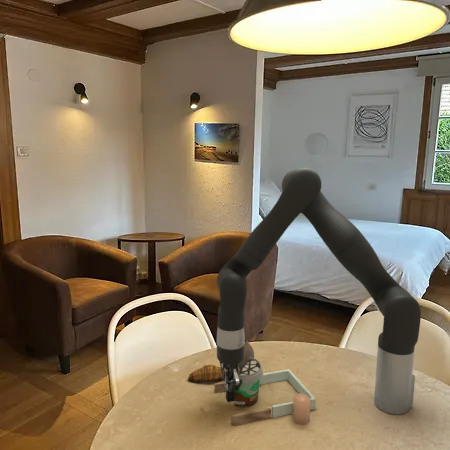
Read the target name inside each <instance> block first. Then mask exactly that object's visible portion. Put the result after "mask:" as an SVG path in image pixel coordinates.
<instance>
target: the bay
mask: <svg viewBox="0 0 450 450" xmlns="http://www.w3.org/2000/svg"><path fill="white" fill-rule="evenodd" d="M283 381H288V382H289V383H290V384H291V385H292V386H293V388H294V389H295V390H296V391H297V392H298V394H299V393H302V394H306V395H308V396H309V397H310V411H311V410H315V409H316V408H317V398H316V396H314V395H313V394H312V393H311V392H310V391H309V389H308V388H307V387H306V386H305V385H304V384H303V382H301V381H300V379H299V378H298V377H297V375H295V374H294V373H293V372H292V370H291V369H283V370H277V371H270V372H264V373H263V375H262V377H261V378H260V384H259V386H260V385H265V384H266V385H268V384H271V383H276V382H277V383H278V382H283ZM287 415H293V401H290V402H289V401H287V402H285V403H278V404H272V405H271V418H276V417H278V418H279V417H281V416H282V417H283V416H287Z"/></svg>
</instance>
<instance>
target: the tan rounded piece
mask: <svg viewBox="0 0 450 450" xmlns="http://www.w3.org/2000/svg"><path fill="white" fill-rule="evenodd" d="M292 398H293V401H292V402H293V414H292V420H293V422H295V423H297V424H299V425H307V424H309V422H310V419H311V410H310V397H309V396H308V395H306V394H302V393H299V392H298V393H296V394H294V395H293V397H292Z"/></svg>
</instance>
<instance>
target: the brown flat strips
mask: <svg viewBox="0 0 450 450" xmlns="http://www.w3.org/2000/svg"><path fill="white" fill-rule="evenodd" d="M213 383H214V384H213V385H214V387H213V388H214V391H213V392H214V393H222V392H226V387H225V385H224V384H225V382H223V381H222V382H221V381H220V382H213ZM271 418H272V407H267V408H261V409H256V410H252V411H246V412H245V411H244V412H241V413H236V414H232V415H230V426H231V427H232V426H237V425H238V426H239V425H242V424H243V425H244V424H247V423H253V422H257V421H263V420H268V419H271Z"/></svg>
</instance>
